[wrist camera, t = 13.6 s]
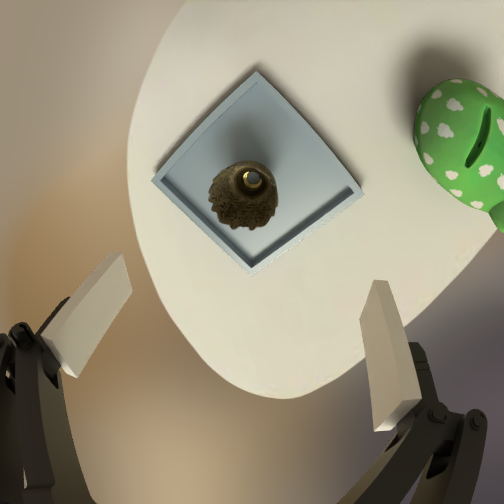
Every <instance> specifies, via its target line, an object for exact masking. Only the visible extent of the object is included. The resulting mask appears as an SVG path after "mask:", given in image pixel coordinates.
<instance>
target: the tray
mask: <svg viewBox="0 0 504 504" xmlns="http://www.w3.org/2000/svg"><path fill="white" fill-rule="evenodd" d="M245 160H251V161H256V162H259V163H261V164H263V165H264V166H266V167H267V168H268V169H269V170H270V171H271V173H272V174H273V176H274V178H275V181H276V185H277V192H278V200H279V202H278V207H277V208H276V210H275V216H274V217H271V218H270V220H269V222H268V223H267V224H266V225H265V226H264V227H260V228H259V227H257V228H256V229H255V230H253V231H249V230H248V229H249V228H248V227H245V228H243V227H237V229H236V230H232V229H231V228H230V226H229V225H225V224H222V223H220V222H219V220H218V218H217V213H216V212H212V211H211V208H212V205H213V203H210V202H209V201H208V197H209V195H210V194H209V193H208V191H209V189H210V187H211V185H212V184H213V183H212V180H213V179H214V177H216V176H217V175H218V173H219V172H220V171H221V170H223V169H225V168H227V167H229V166H230V165H232V164H234V163H237V162H240V161H245ZM259 179H260V177H259V175H258V174H257V173H255V172H250V173H249V174H248V175H247V180H248V182H250V183H251V184H256V183H258V182H259ZM151 181H152V182H153V183H154V184H155V185H156V186H157V187H158V188H159V189H160V190H161V191H162V192H163V193H164V194H165V195H166V196H167V197H168V198H169V199H170V200H171V201H172V202H173V203H174V204H175V205H176V206H177V207H178V208H179V209H181V210H182V211H183V212H184V213H185V214H186V215H187V216H188V217H189V218H190V219H191V220H192V221H193V222H194V223H195V224H196V225H197V226H198V227H199V228H200V229H201V230H202V231H204V232H205V233H206V234H207V235H208V236H209V237H210V238H211V239H212V240H213V241H214V242H215V243H216V244H217V245H218V246H219V247H220V248H222V249H223V250H224V251H225V252H226V253H227V254H228V255H229V256H230V257H231V258H232V259H233V260H234V261H235V262H236V263H238V264H239V265H240V266H241V267H242V268H243V269H244V270H245V271H246V272H247V273H248V274H249V275H250V276H252V275H254V274H255V273H257V272H258V271H259V270H261V269H262V268H264V267H265V266H266V265H268V264H269V263H271V262H272V261H274V260H275V259H276V258H278V257H279V256H281V255H282V254H283V253H285V252H286V251H288V250H289V249H290V248H292V247H293V246H295V245H296V244H297V243H299V242H300V241H302V240H303V239H304V238H306V237H307V236H309V235H310V234H311V233H313V232H314V231H315V230H317V229H318V228H320V227H321V226H322V225H324V224H325V223H326V222H328V221H329V220H331V219H332V218H333V217H335V216H336V215H337V214H339V213H340V212H342V211H343V210H344V209H346V208H347V207H348V206H350V205H351V204H352V203H354V202H355V201H356V200H358V199H359V198H361V197H362V196H363V195H365V194H364V193H363V191H362V190H361V188H360V187H359V186H358V184H357V183H356V182H355V180H354V179H353V178H352V176H351V175H350V174H349V172H348V171H347V170H346V168H345V167H344V166H343V165H342V163H341V162H340V161H339V160H338V158H337V157H336V156H335V155H334V153H333V152H332V151H331V150H330V149H329V147H328V146H327V145H326V144H325V143H324V141H323V140H322V139H321V138H320V137H319V136H318V134H317V133H316V132H315V131H314V130H313V129H312V128H311V126H310V125H309V124H308V123H307V122H306V121H305V120H304V119H303V117H302V116H301V115H300V114H299V113H298V112H297V111H296V110H295V109H294V108H293V107H292V106H291V105H290V104H289V102H288V101H287V100H286V99H285V98H284V97H283V96H282V95H281V94H280V93H279V92H278V91H277V90H276V89H275V88H274V87H273V86H272V85H271V84H270V83H269V82H268V81H267V80H266V79H265V78H264V77H262V76H261V75H260V74H259V73H258V72H257V71H256V72H255V73H254V74H252V75H251V76H250V77H249V78H248V79H247V80H246V81H245V82H243V83H242V84H241V85H240V86H239V87H238V88H237V89H236V90H235V91H234V92H233V93H232V94H230V95H229V96H228V97H227V98H226V99H225V100H224V101H223V102H222V103H221V104H220V105H219V106H218V107H217V108H216V109H215V110H214V111H213V112H212V113H211V114H210V115H209V116H208V117H207V118H206V119H205V120H204V121H203V122H202V123H201V124H200V125H199V126H198V127H197V128H196V129H195V131H194V132H193V133H192V134H191V135H190V136H189V137H188V138H187V139H186V140H185V141H184V142H183V144H182V145H181V146H180V147H179V148H178V149H177V150H176V151H175V153H174V154H173V155H172V156H171V157H170V158H169V159H168V161H167V162H166V163H165V164H164V165H163V166H162V168H161V169H160V170H159V171H158V172H157V174H156V175H155V176H154V177H153V179H152V180H151Z"/></svg>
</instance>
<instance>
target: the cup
mask: <svg viewBox="0 0 504 504" xmlns="http://www.w3.org/2000/svg"><path fill="white" fill-rule="evenodd" d="M250 172H255V173H257V174H258V175H259V177H260V179H259V182H258V183H256V184H251V183H250V182H248V180H247V175H248V174H249V173H250ZM212 183H213V184H212V185H211V187H210V189H209V191H208V193H209V194H210V195H209V197H208V201H209V202H210V203H213V205H212V208H211V211H212V212H216V213H217V218H218V220H219V222H220V223H222V224H225V225H229V226H230V228H231V229H232V230H236V229H237V227H243V228H245V227H248V228H249V229H248V230H249V231H253V230H255V229H256V228H257V227H259V228H260V227H264V226H265V225H266V224H267V223H268V222H269V220H270V218H271V217H274V216H275V210H276V208H277V207H278V202H279V200H278V192H277V185H276V181H275V178H274V176H273V174H272V173H271V171H270V170H269V169H268V168H267V167H266V166H264V165H263V164H261V163H259V162H256V161H251V160H245V161H240V162H237V163H234V164H232V165H230V166H229V167H227V168H225V169H223V170H221V171H220V172H219V173H218V175H217V176H216V177H214V179H213V180H212Z"/></svg>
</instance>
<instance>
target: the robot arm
mask: <svg viewBox="0 0 504 504" xmlns="http://www.w3.org/2000/svg"><path fill="white" fill-rule="evenodd" d="M132 292H133V291H132V288H131V284H130V280H129V276H128V273H127V269H126V265H125V262H124V257H123V253H120V252H110V254H109V255H108V256H107V257H106V258H105V259H104V260H103V261H102V262H101V263H100V264H99V265H98V266H97V268H96V269H95V270H94V271H93V272H92V273H91V274H90V275H89V277H88V278H87V279H86V280H85V281H84V282H83V283H82V284H81V286H80V287H79V288H78V289H77V290H76V291H75V293H74V294H73V295H72V296H71V297H67V298H66V299H64V300H63V301H61V302H60V304H59V305H58V306H57V307H56V308H55V310H54V311H53V312H52V313H51V316H49V317H48V318H47V320H46V321H45V322H44V323H43V325H42V326H41V327H40V329H39V330H38V331H37V333H36V334H35V335H34V333H33V332H32V330H31V328H30V327H29V325H28V324H27V323H25V322H21V323H17V324H16V325H14V326H13V327H12V328H11V330H10V331H9V334H8V336H9V338H10V339H11V340H10V339H9V338H8V336H7V335H6V334H4V333H2V334H0V504H96V503H95V501H94V500H93V499H92V498H91V496H90V493H89V491H88V488H87V485H86V482H85V479H84V476H83V473H82V470H81V467H80V464H79V461H78V457H77V454H76V450H75V447H74V442H73V439H72V435H71V430H70V426H69V421H68V416H67V412H66V406H65V400H64V393H63V387H62V379H61V374H60V371H59V368H60V367H61V366H62V368H63V369H64V371H65V372H66V373H67V374H69V375H71V376H74V377H76V378H78V376H79V375H80V373H81V371H82V369H83V368H84V366H85V364H86V363H87V361H88V359H89V357H90V356H91V355H92V353H93V351H94V350H95V348H96V347H97V345H98V343H99V342H100V340H101V338H102V337H103V335H104V334H105V332H106V331H107V329H108V328H109V326H110V325H111V323H112V321H113V320H114V318H115V317H116V315H117V314H118V312H119V311H120V310H121V308H122V307H123V305H124V304H125V302H126V301H127V299H128V298H129V296H130V295H131V293H132ZM359 320H360V325H361V331H362V337H363V343H364V349H365V356H366V362H367V369H368V377H369V385H370V393H371V403H372V412H373V424H374V431H385V430H391V429H392V428H393V427H394V426H395V425H396V424H397V433H395V434H394V435H393V436H392V437H391V438H390V439H389V440H388V442H389V443H388V445H387V446H386V447H385V449H384V450H383V451H382V453H381V454H380V455H379V456H378V458H377V459H376V460H375V462H374V463H373V464H372V465H371V466H370V468H369V469H368V470H367V471H366V472H365V474H364V475H363V476H362V477H361V478H360V479H359V481H358V482H357V483H356V484H355V485H354V486H353V487H352V488H351V489H350V490H349V491H348V493H347V494H346V495H345V496H344V497H343V498H342V499H341V500H340V501H339V502H338V503H337V504H400V502H401V501H402V500H403V498H404V497H405V495H406V494H407V493H408V491H409V490H410V488H411V487H412V485H413V484H414V483H415V481H416V480H417V478H418V477H419V475H420V473H421V472H422V470H423V469H424V470H423V473H422V476H421V478H420V481H419V483H418V486H417V488H416V491H415V493H414V495H413V498H412V500H411V502H410V504H470V503H471V499H472V496H473V493H474V490H475V486H476V482H477V479H478V475H479V470H480V466H481V461H482V456H483V451H484V446H485V440H486V433H487V418H486V416H485V414H484V413H483V412H482V411H480V410H479V409H472V410H470V411H469V412H468V413H467V414H466V415H464V414H458V413H453V412H450V411H448V409H447V407H446V406H445V405H444V404H443V403H441V402H439V400H438V397H437V393H436V389H435V386H434V382H433V378H432V374H431V371H430V367H429V364H428V363H427V357H426V354H425V351H424V350H423V348H422V347H421V346H420V344H419V343H417V342H415V343H414V342H408V341H407V338H406V335H405V331H404V328H403V325H402V321H401V318H400V315H399V312H398V309H397V306H396V303H395V300H394V297H393V295H392V292H391V289H390V286H389V284H388V281H383V280H373V283H372V286H371V289H370V292H369V295H368V298H367V300H366V303H365V306H364V309H363V311H362V314H361V317H360V319H359ZM6 371H8V372H9V373H10V376H9V378H8V377H7V376H6ZM23 466H24V469H23ZM24 471H25V476H26V480H27V487H26V488H25V489H24Z"/></svg>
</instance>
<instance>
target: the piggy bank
mask: <svg viewBox="0 0 504 504" xmlns="http://www.w3.org/2000/svg"><path fill="white" fill-rule="evenodd" d="M413 142H414V145H415V147H416V150H417V152H418V155H419V158H420V160H421V162H422V163H423V165H424V167H425V168H426V170H427V171H428V172H429V173H430V175H431V176H432V177H433V178H434V179H435V180H436V181H437V182H438V183H439V184H440V185H441V186H442V187H443V188H444V189H445V190H447V191H448V192H449V193H450V194H452V195H453V196H454V197H455V198H457V199H458V200H459V201H461V202H463V203H464V204H466V205H468V206H470V207H473V208H476V209H479V210H482V211H485V212H488V213H489V215H490V217H491V218H492V220H493V222H494V224H495V225H496V227H497V228H498V229H499V230H500V231H501V232H503V233H504V100H503V99H502V98H500V97H499V96H498V95H496V94H495V93H493V92H492V91H490V90H489V89H487V88H485V87H484V86H482V85H480V84H478V83H475V82H473V81H469V80H465V79H450V80H446V81H444V82H442V83H440V84H438V85H436V86H435V87H434V88H433V89H431V90H430V91H429V92H428V93H427V95H426V96H425V97H424V98H423V100H422V102H421V104H420V105H419V108H418V110H417V114H416V119H415V128H414V137H413Z"/></svg>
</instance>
